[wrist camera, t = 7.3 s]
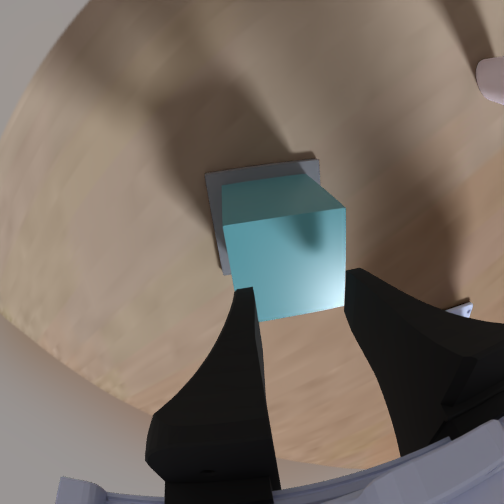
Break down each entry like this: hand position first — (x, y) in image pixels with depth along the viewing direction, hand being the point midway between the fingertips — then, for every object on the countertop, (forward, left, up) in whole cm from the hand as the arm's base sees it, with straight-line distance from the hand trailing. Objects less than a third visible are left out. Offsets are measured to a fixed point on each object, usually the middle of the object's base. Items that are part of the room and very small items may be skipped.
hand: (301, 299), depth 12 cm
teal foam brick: (0, 0, -9) cm, 9 cm away
